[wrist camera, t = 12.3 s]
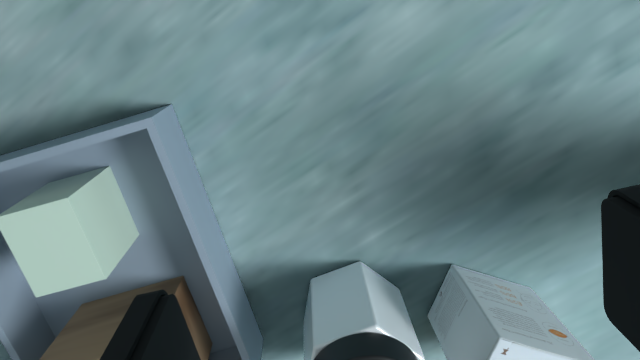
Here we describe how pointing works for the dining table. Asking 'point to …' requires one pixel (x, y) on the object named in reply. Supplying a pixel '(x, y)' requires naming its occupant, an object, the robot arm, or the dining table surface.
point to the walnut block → (105, 316)
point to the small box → (498, 321)
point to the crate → (150, 246)
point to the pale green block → (69, 231)
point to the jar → (357, 318)
